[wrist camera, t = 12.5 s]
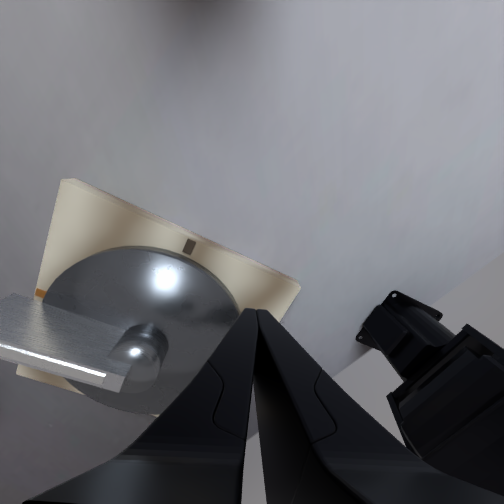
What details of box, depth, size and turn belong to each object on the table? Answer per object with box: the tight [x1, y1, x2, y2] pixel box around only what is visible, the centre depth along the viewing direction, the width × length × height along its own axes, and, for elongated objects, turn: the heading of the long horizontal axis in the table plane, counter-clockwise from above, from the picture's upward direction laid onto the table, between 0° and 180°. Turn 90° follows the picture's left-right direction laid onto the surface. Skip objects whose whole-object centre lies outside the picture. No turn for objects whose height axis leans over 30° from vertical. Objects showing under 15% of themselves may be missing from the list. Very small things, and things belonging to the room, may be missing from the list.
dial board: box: [16, 178, 301, 417], centre depth 22 cm, size 20×20×2 cm
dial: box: [0, 246, 241, 415], centre depth 18 cm, size 19×17×5 cm
